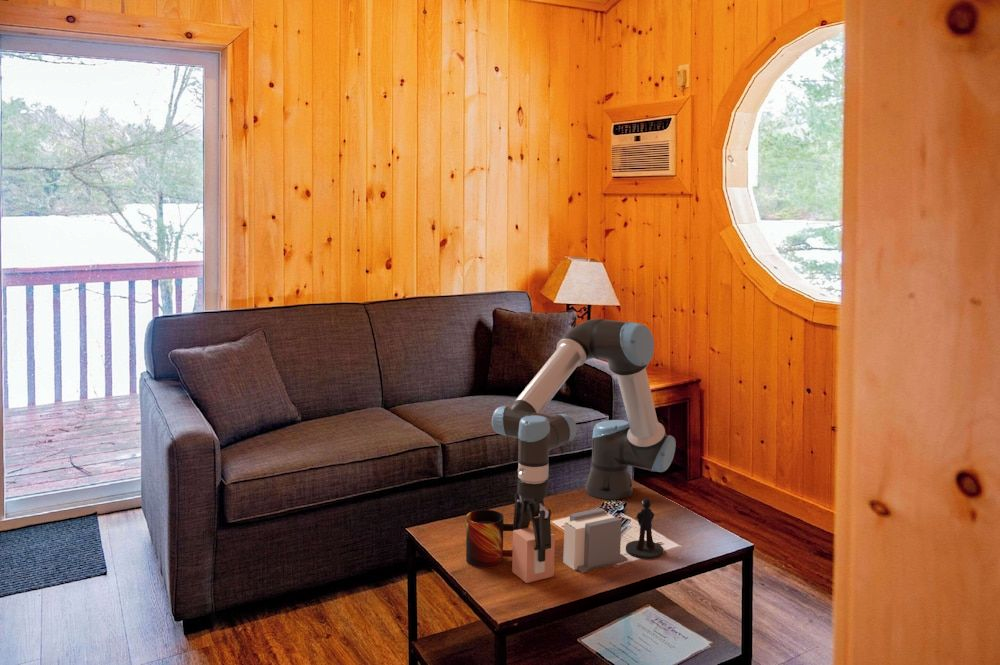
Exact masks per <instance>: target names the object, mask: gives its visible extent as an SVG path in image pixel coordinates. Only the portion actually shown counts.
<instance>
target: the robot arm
mask: <svg viewBox="0 0 1000 665" xmlns="http://www.w3.org/2000/svg"><path fill="white" fill-rule="evenodd" d="M654 346H655V340H654V336H653V333H652V331H651V330H650V329H649V328H648V327H647V325H645V324H643V323H637V322H635V321H621V320H613V319H604V318H591V319H588V320H585V321H583V322H581V323H579V324H577V325H575V326H573V328H571V329H570V330H568V331H567V332H566V333H565V334H563V336H562V337H561V338H560V340H558V342H557V344H556V350H555V351H554V352H553V354H552V355H551V356H550V357H549V359H548V360H547V361H546V362H545V363H544V365H542V367H541V368H540V370H538V372H537V373H536V374H535V375H534V376H533V378H532V379H531V380H530V382H529V383H528V384H527V385H526V386H525V388H524V389H523V390H522V392H521V393H520V394H519V395H518V396H517V398H515V400H514V401H513V402H512V403H511V405H510V406H506V405H505V406H504V405H502V406H499V407H497V408H496V409H495V410H494V411H493V414H492V417H491V426H492V429H493V431H494V432H495V433H496V434H498V435H502V436H503V437H506V438H507V437H508V438H509V437H510V438H514V439H518V459H517V460H518V463H517V464H518V466H517V467H518V468H517V477H518V479H517V493H515V494H514V511H513V512H514V513H513V523H512V524H513V530H518V529H523V528H528V527H530V522H531V523H532V526H533V529H534V536H535V542H536V548H534V573H535V574H538V573H542V572H545V550H546V549H549V548H551V533H552V532H551V530H552V529H551V518H552V517H551V516H552V510H551V509H550V508H548V509H547V508H546V507H545V501H544V498H545V497H546V496H547V495H548V493H549V481H548V479H549V473H550V472H549V471H550V469H549V467H550V466H549V465H550V463H549V461H550V460H549V455H550V451H552V450H555V449H556V448H560V447H562V446H565V445H567V444H568V443H569V442H571V441H573V440H574V439H575V437H576V436H577V433H578V427H577V423H576V421H575V419H574V418H573V417H572V416H570V415H569V414H568V413H567V414H566V413H561V414H558V413H557V414H556V415H550V414H549V415H548V414H542V412H543V411H544V409H545V408H546V407H547V406H548V405H549V403H550V402H551V401H552V399H553V398H554V397H555V396H556V394H557V393H558V391H559V390H560V389H562V386H563V385H564V384H565V383H566V381H567V380H568V379H569V377H570V376H571V375H572V374H573V373H574V371H575V370H576V368H577V367H581V366H583V365H584V364H585V363H586V362H587V360H590V359H597V360H601V361H602V360H603V361H607V363H608V367H609V370H610V372H611V373H613V374H614V375H616V378H617V381H618V385H619V390H620V393H621V394H620V395H621V397H622V401H623V405H624V409H625V413H626V418H627V420H623V419H610V420H609V419H608V420H603V421H600V422H597V423H596V424H595V425H594V426H593V432H592V437H591V438H592V446H591V447H592V448H591V449H592V450H591V452H592V453H591V468H590V471H589V474H588V477H587V480H586V482H585V493H587V494H588V495H589V496H591V497H594V498H597V499H602V500H623V499H626V498H629V497H631V496H632V495H633V490H634V489H633V488H634V486H633V482H632V479H631V475H630V472H629V467H634V468H637V469H642V470H646V471H649V472H658V473H664V472H666V471H667V470H668V469H669V467H670V466H671V464H672V462H673V460H674V456H675V452H676V447H677V446H676V439H675V437H674V436H673V435H670V434H667V433H666V429H665V426H664V425H663V424H662V423H660V422H659V420H658V417H657V413H656V407H655V402H654V400H653V395H652V390H651V387H650V381H649V377H648V372H647V369H646V368H647V367H648V366H649V363H650V362H651V360H652V358H653V356H654V353H655V349H654ZM517 524H518V525H517Z"/></svg>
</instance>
